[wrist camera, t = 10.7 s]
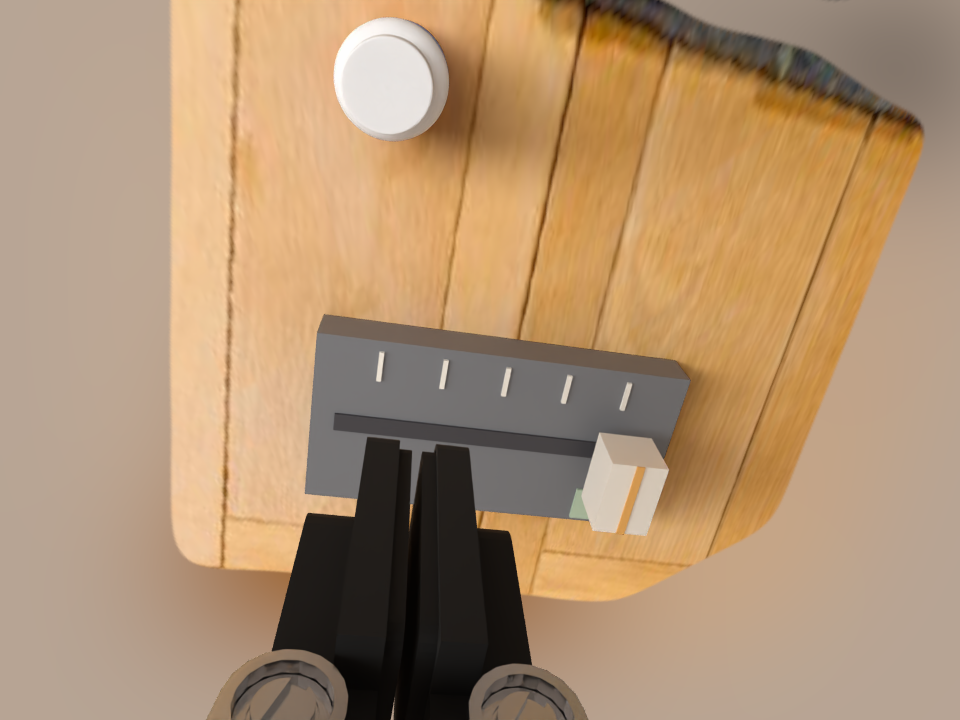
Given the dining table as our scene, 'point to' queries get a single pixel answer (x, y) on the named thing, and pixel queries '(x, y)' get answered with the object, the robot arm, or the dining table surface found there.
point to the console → (481, 409)
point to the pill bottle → (391, 78)
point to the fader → (623, 484)
